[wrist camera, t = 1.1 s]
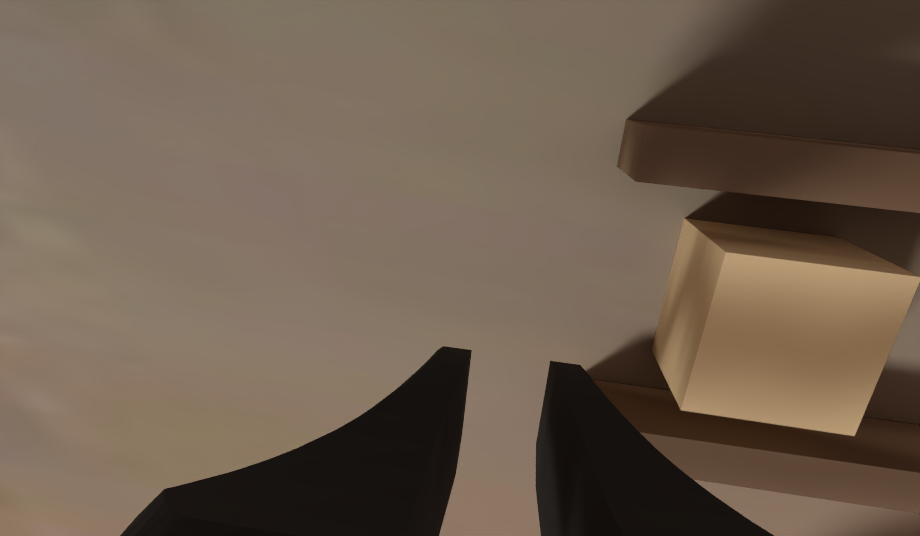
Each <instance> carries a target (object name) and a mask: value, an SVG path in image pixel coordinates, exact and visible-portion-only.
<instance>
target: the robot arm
mask: <svg viewBox="0 0 920 536" xmlns="http://www.w3.org/2000/svg"><path fill="white" fill-rule="evenodd" d="M470 359H471V350H466V349H459V348H452V347H444V346H443V347H441V348H440V349H439V350H437V351H436V352H435V354H434V355H433V356H432V357H431V358H430V359H429V360H428V361H427V362H426V363H425V364H424V365H423V366H422V367H421V368H420V369H419V370H418V371H417V372H415V373H414V374H413V375H412V376H411V377H410V378H409V379H408V380H406V381H405V382H404V383H403V384H402V385H401V386H400V387H398V388H397V389H396V390H395V391H394V392H392V393H391V394H390V395H388V396H387V397H386V398H384V399H383V400H382V401H380V402H379V403H378V404H376V405H375V406H374V407H372V408H371V409H370V410H368V411H367V412H365V413H364V414H362V415H361V416H359V417H358V418H356V419H354V420H352V421H351V422H349V423H347V424H346V425H344V426H342V427H340V428H338V429H337V430H335V431H333V432H331V433H329V434H326V435H324V436H322V437H320V438H318V439H316V440H314V441H312V442H309V443H307V444H305V445H303V446H301V447H299V448H297V449H294V450H292V451H289V452H287V453H284V454H282V455H279V456H276V457H274V458H271V459H269V460H266V461H263V462H260V463H257V464H254V465H251V466H248V467H245V468H242V469H239V470H236V471H232V472H229V473H225V474H222V475H218V476H214V477H210V478H207V479H203V480H199V481H195V482H191V483H188V484H184V485H180V486H176V487H171V488H167V489H164V490H163V491H162V492H161V493H160V494H159V495H158V496H157V497H156V498H155V499H154V500H153V501H152V502H151V503H150V504H149V505H148V506H147V507H146V508H145V509H144V510H143V511H142V512H141V513H140V514H139V515H138V516H137V517H136V518H135V519H134V521H133V522H132V523H131V524H130V525H129V526H128V527H127V529H126V530H125V531H124V532H123V533H122V534H121V535H120V536H439V533H440V530H441V526H442V522H443V519H444V515H445V511H446V508H447V504H448V500H449V497H450V493H451V489H452V486H453V482H454V478H455V475H456V469H457V462H458V456H459V450H460V443H461V437H462V429H463V421H464V412H465V403H466V394H467V386H468V377H469V368H470ZM536 493H537V503H538V512H539V521H540V530H541V536H774V535H772V534H770V533H769V532H767V531H766V530H764V529H762V528H761V527H759V526H758V525H756V524H755V523H753V522H751V521H750V520H748V519H747V518H745V517H744V516H743V515H741V514H740V513H738V512H737V511H735V510H734V509H732V508H731V507H729V506H728V505H727V504H725V503H724V502H722V501H721V500H719V499H718V498H716V497H715V496H714V495H712V494H711V493H710V492H708V491H707V490H706V489H704V488H703V487H702V486H700V485H699V484H698V483H696V482H695V481H694V480H693V479H692V478H690V477H689V476H688V475H687V474H685V473H684V472H683V471H682V470H681V469H679V468H678V467H677V466H676V465H674V464H673V463H672V462H671V461H670V460H668V459H667V458H666V457H665V456H664V455H663V454H662V453H661V452H659V451H658V450H657V449H656V448H655V447H654V446H653V445H652V444H651V443H650V442H649V441H648V440H647V439H646V438H645V437H644V436H643V435H642V434H641V433H640V432H639V431H638V430H637V429H636V428H635V427H634V426H633V425H632V424H631V423H630V422H629V421H628V420H627V419H626V418H625V417H624V416H623V415H622V413H621V412H620V411H619V410H618V409H617V408H616V407H615V406H614V405H613V403H612V402H611V401H610V400H609V399H608V398H607V396H606V395H605V394H604V393H603V392H602V391H601V389H600V388H599V387H598V386H597V385H596V383H595V382H594V381H593V380H592V379H591V377H590V376H589V375H588V374H587V372H586V371H585V370H584V369H583V368H582V367H581V366H580V365H576V364H569V363H562V362H554V361H550V366H549V372H548V378H547V384H546V390H545V395H544V401H543V407H542V413H541V419H540V425H539V431H538V436H537V442H536Z"/></svg>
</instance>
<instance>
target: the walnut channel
mask: <svg viewBox="0 0 920 536" xmlns="http://www.w3.org/2000/svg"><path fill="white" fill-rule="evenodd" d="M617 167H619V168H620V169H621V170H622V171H624V172H625V173H626V174H627V175H628V176H630V177H631V178H632V179H633V180H635V181H636V182H645V183H654V184H663V185H672V186H681V187H690V188H699V189H708V190H717V191H726V192H735V193H744V194H753V195H762V196H771V197H780V198H789V199H798V200H807V201H816V202H825V203H834V204H843V205H852V206H861V207H870V208H879V209H888V210H897V211H906V212H915V213H920V150H918V149H908V148H899V147H889V146H879V145H870V144H860V143H850V142H841V141H831V140H821V139H811V138H802V137H792V136H782V135H773V134H763V133H753V132H743V131H734V130H724V129H714V128H705V127H695V126H685V125H676V124H666V123H656V122H646V121H637V120H627V119H626V123H625V129H624V134H623V139H622V144H621V149H620V155H619V160H618V165H617ZM593 381H594V382H595V383H596V385H597V386H598V387H599V388H600V389H601V391H602V392H603V393H604V394H605V395H606V396H607V398H608V399H609V400H610V401H611V402H612V403H613V405H614V406H615V407H616V408H617V409H618V410H619V411H620V412H621V413H622V415H623V416H624V417H625V418H626V419H627V420H628V421H629V422H630V423H631V424H632V425H633V426H634V427H635V428H636V429H637V430H638V431H639V432H640V433H641V434H642V435H643V436H644V437H645V438H646V439H647V440H648V441H649V442H650V443H651V444H652V445H653V446H654V447H655V448H656V449H657V450H658V451H659V452H661V453H662V454H663V455H664V456H665V457H666V458H667V459H668V460H670V461H671V462H672V463H673V464H674V465H676V466H677V467H678V468H679V469H681V470H682V471H683V472H684V473H685V474H687V475H688V476H689V477H690V478H692V479H694V480H701V481H707V482H714V483H721V484H727V485H734V486H741V487H747V488H754V489H761V490H767V491H774V492H781V493H787V494H794V495H801V496H807V497H814V498H821V499H827V500H834V501H841V502H847V503H854V504H861V505H867V506H874V507H881V508H887V509H894V510H901V511H908V512H914V513H920V425H917V424H910V423H903V422H896V421H888V420H881V419H874V418H867V417H862V420H861V422H860V424H859V427H858V429H857V432H856V434H855V436H850V435H843V434H837V433H830V432H823V431H816V430H810V429H803V428H796V427H790V426H783V425H776V424H770V423H763V422H756V421H749V420H743V419H736V418H729V417H723V416H716V415H709V414H703V413H696V412H689V411H682V410H680V408H679V406H678V403H677V401H676V399H675V397H674V395H673V393H672V391H671V390H664V389H657V388H650V387H643V386H636V385H628V384H621V383H614V382H607V381H599V380H593Z"/></svg>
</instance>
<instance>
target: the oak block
mask: <svg viewBox="0 0 920 536" xmlns="http://www.w3.org/2000/svg"><path fill="white" fill-rule="evenodd" d="M919 282H920V276H918V275H916V274H914V273H912V272H910V271H907V270H905V269H903V268H901V267H899V266H897V265H895V264H893V263H891V262H889V261H887V260H885V259H882V258H880V257H878V256H876V255H874V254H872V253H870V252H868V251H866V250H864V249H862V248H860V247H857V246H855V245H853V244H851V243H849V242H847V241H845V240H843V239H841V238H839V237H831V236H823V235H815V234H807V233H799V232H791V231H783V230H775V229H767V228H758V227H750V226H742V225H734V224H726V223H718V222H710V221H702V220H694V219H686V218H684V222H683V226H682V230H681V234H680V238H679V242H678V246H677V250H676V254H675V258H674V262H673V266H672V270H671V274H670V278H669V282H668V286H667V290H666V294H665V298H664V302H663V306H662V310H661V313H660V317H659V321H658V325H657V329H656V333H655V337H654V341H653V345H652V349H651V350H652V352H653V354H654V356H655V358H656V361H657V363H658V365H659V367H660V369H661V371H662V373H663V375H664V377H665V379H666V381H667V383H668V385H669V387H670V389H671V391H672V393H673V395H674V397H675V399H676V401H677V403H678V406H679V408H680V410H682V411H689V412H696V413H703V414H709V415H716V416H723V417H729V418H736V419H743V420H749V421H756V422H763V423H770V424H776V425H783V426H790V427H796V428H803V429H810V430H816V431H823V432H830V433H837V434H843V435H850V436H855V434H856V432H857V429H858V427H859V424H860V422H861V420H862V417H863V415H864V413H865V410H866V408H867V405H868V403H869V401H870V398H871V396H872V394H873V391H874V389H875V386H876V384H877V382H878V379H879V377H880V375H881V372H882V370H883V368H884V365H885V363H886V360H887V358H888V356H889V353H890V351H891V349H892V346H893V344H894V341H895V339H896V337H897V334H898V332H899V330H900V327H901V325H902V322H903V320H904V318H905V315H906V313H907V311H908V308H909V306H910V304H911V301H912V299H913V296H914V294H915V292H916V289H917V287H918V285H919Z"/></svg>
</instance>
